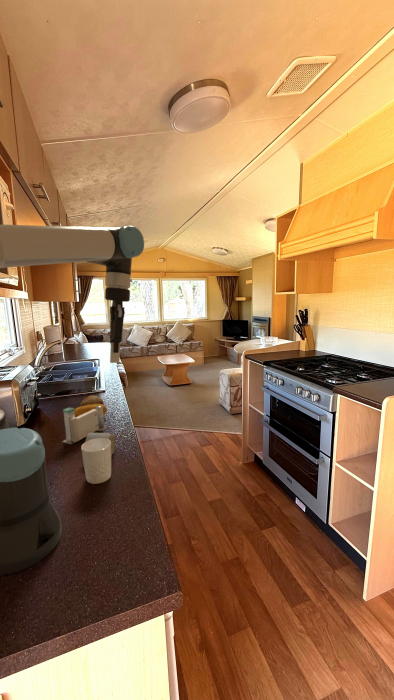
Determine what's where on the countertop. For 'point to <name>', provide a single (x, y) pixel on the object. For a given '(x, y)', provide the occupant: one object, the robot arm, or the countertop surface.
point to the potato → (88, 409)
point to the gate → (84, 425)
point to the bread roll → (91, 400)
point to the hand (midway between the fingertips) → (114, 362)
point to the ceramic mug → (102, 435)
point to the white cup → (97, 460)
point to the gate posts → (70, 413)
